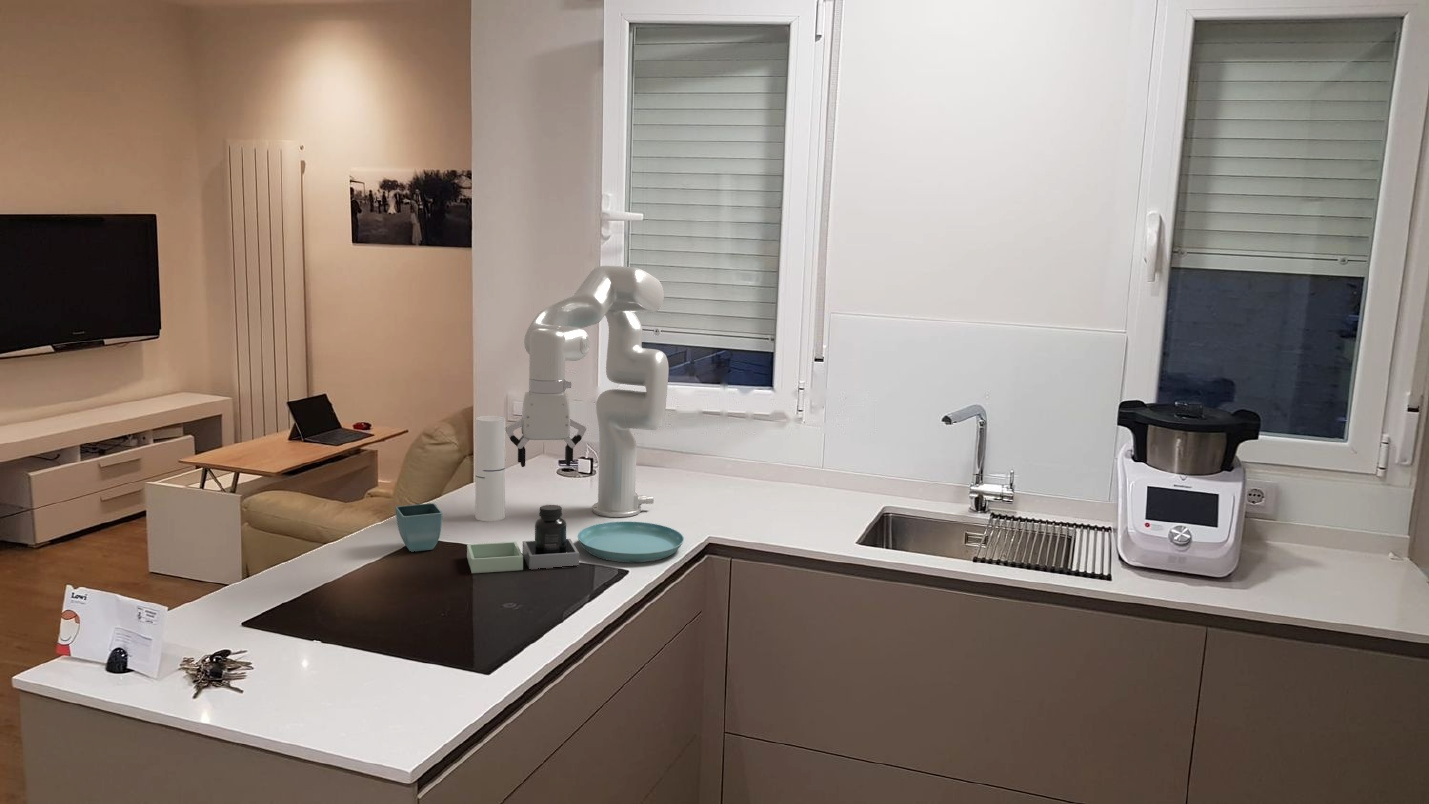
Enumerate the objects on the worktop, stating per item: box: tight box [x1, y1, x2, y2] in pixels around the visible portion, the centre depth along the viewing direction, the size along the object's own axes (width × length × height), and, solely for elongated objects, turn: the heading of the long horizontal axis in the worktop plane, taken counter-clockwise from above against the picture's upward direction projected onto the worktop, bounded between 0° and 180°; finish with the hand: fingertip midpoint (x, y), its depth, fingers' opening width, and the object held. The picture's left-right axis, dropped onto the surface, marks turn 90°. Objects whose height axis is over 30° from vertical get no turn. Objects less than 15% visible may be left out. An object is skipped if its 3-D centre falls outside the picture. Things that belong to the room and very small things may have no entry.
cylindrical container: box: [474, 415, 506, 522], centre depth 259 cm, size 7×7×25 cm
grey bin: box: [522, 538, 580, 570], centre depth 230 cm, size 11×11×3 cm
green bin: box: [466, 541, 524, 574], centre depth 226 cm, size 11×11×3 cm
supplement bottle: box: [534, 504, 567, 555], centre depth 229 cm, size 7×7×12 cm
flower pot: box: [394, 502, 444, 553], centre depth 234 cm, size 9×9×9 cm
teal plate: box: [577, 521, 685, 563], centre depth 240 cm, size 24×24×3 cm
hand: (545, 465), depth 228 cm, fingers open, 9 cm apart
